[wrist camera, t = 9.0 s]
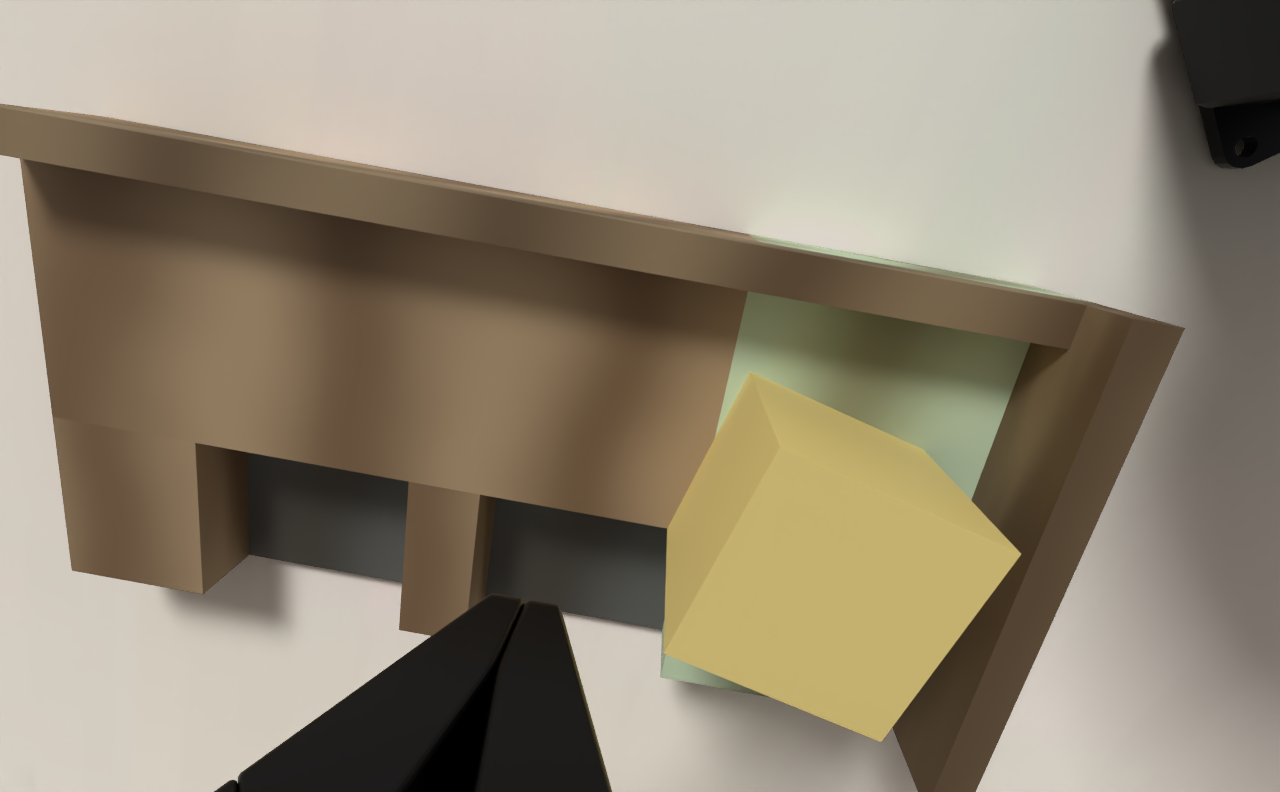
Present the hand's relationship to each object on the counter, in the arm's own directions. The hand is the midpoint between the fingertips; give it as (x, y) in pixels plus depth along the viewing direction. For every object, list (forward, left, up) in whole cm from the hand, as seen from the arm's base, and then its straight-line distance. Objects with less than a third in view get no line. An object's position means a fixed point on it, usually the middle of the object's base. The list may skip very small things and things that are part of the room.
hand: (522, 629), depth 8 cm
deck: (+3, 0, -12) cm, 12 cm away
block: (-3, +5, -9) cm, 11 cm away
